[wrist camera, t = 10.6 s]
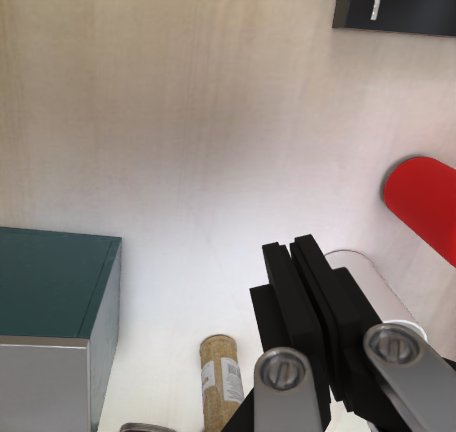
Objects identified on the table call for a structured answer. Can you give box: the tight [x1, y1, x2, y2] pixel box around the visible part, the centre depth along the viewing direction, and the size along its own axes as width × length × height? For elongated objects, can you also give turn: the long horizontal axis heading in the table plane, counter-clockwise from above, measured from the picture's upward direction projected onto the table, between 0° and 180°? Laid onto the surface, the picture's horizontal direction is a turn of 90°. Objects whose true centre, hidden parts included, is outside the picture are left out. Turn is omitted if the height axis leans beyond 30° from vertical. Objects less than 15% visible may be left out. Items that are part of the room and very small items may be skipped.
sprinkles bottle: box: [200, 336, 244, 432], centre depth 37 cm, size 5×5×14 cm
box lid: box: [0, 335, 91, 432], centre depth 25 cm, size 14×12×1 cm
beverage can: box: [383, 157, 456, 268], centre depth 30 cm, size 6×6×12 cm
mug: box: [325, 251, 428, 343], centre depth 36 cm, size 12×8×10 cm, turn 179°
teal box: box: [0, 227, 122, 432], centre depth 31 cm, size 14×12×13 cm
